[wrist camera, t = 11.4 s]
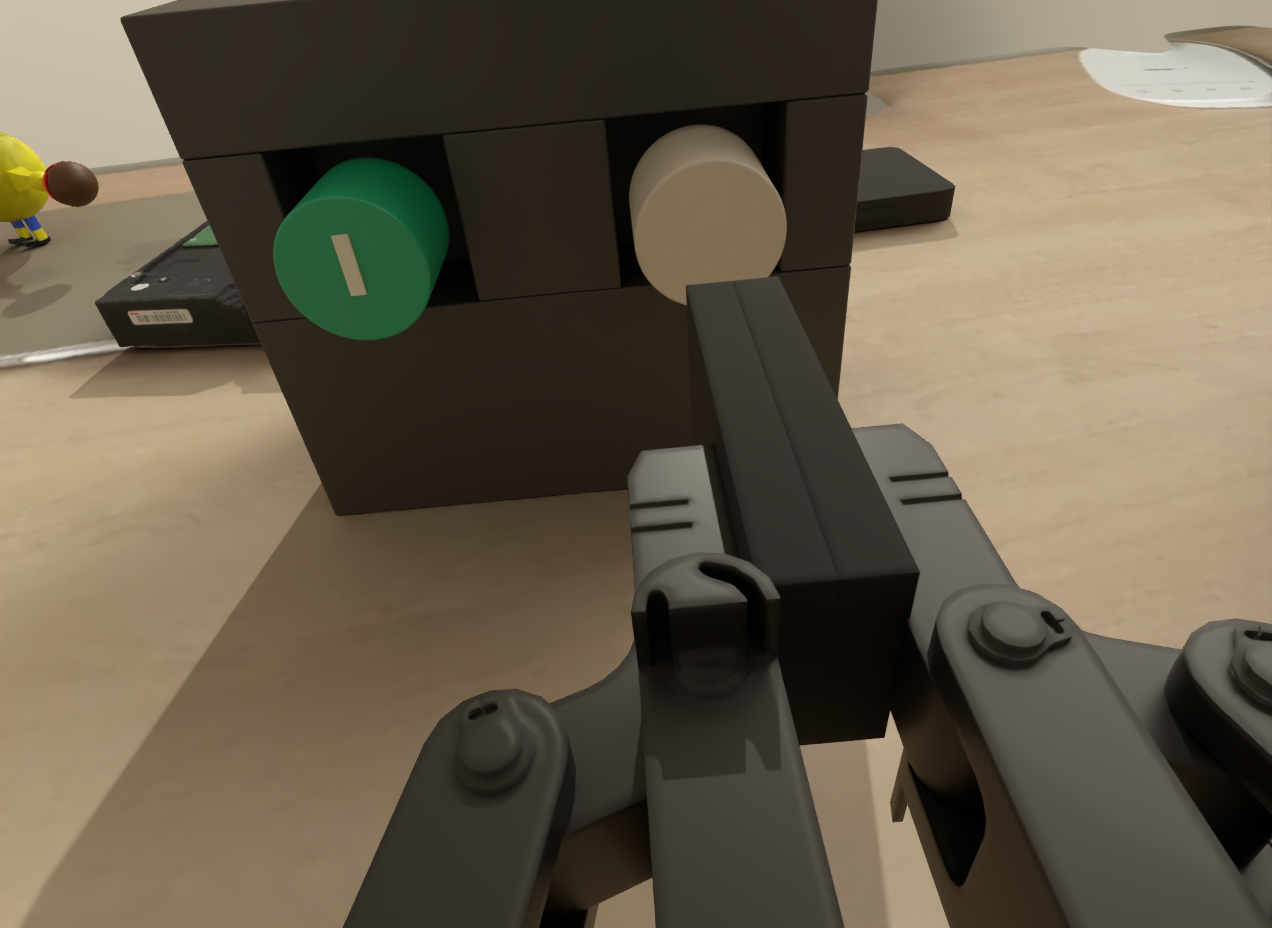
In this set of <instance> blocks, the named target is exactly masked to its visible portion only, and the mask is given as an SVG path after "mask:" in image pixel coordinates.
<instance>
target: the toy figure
mask: <svg viewBox="0 0 1272 928" xmlns="http://www.w3.org/2000/svg"><path fill="white" fill-rule="evenodd" d="M98 189H99V187H98V182H97V179H96V177H95V176H94V174H93V173H92V172H91V171H90V170H89V169H88V168H87V167H85V166H83V165H81V164H78V163H76V162H70V161H68V162H64V161H62V162H58V163H56V164H53V165H51V166H50V167H49V168H47V169H46V168H45V166H44V164H43V163H42V161H41V160H40V158H39V157H38V156H37V155H36V154H35V153H34V152H33V151H32V150H31V149H30V148H29V147H28V146H27V145H25V144H24V143H23V142H21V141H19V140H17V139H16V138H14V137H12V136H9V135H7V134H4V133H1V132H0V222H11V223H12V225H13V227H14V228H15V230H16V232H17V233H18V235H19V237H17V238H12V239H8V241H9V243H10V244H23V246H26V247H31V246H37V245H42V244H45V243H47V242H49V241H51V239H50V237H48V236H47V235H46V233H45V231H44V230H43V228H42V227H41V225H40V224H39V222H38V221H37V219H36V218H35V216H34V214H36V213H37V212H38V211H39V210H40V209H41V208H43V206H44V204H45V203H46V201H47V199H48V196H49V195H50V196H51V197H52V198H53V199H55V200H56V201H58V202H60V203H63V204H66V205H70V206H72V207H74V206H76V207H81V206H85V205H87V204H89V203H91V202H92V201H93V200H94V199H95V198H96V196H97V194H98ZM21 220H24V221H25V223H26V224H27V226H28V227H29V229H30V230H31V232H32V233H33V235H34V236H35V238H36V239H37V240H34V239H33V237H32V236H31V234H30V233H29V232H28V231H27V229H26V227H25V226H24V224H23V222H22V221H21Z"/></svg>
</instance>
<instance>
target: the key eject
mask: <svg viewBox="0 0 1272 928" xmlns="http://www.w3.org/2000/svg"><path fill="white" fill-rule="evenodd" d="M629 204H630V213H631V221H632V229H633V237H634V245H635V252H636V256H637V260H638V263H639V265H640V267H641V270H642V272H643V273H644V275H645V277H646V278H647V280H648V281H649V282H650V283H651V284H652V285H653V287H655V288H656V289H657V290H658V291H659V292H660V293H662V294H663V295H665V296H666V297H667V298H669V299H671V300H673V301H675V302H678V303H681V304H684V305H687V303H686V285H694V284H704V283H714V282H724V281H735V280H745V279H755V278H766V277H768V276H769V275H770V274H771V272H772V271H773V269H774V268H775V266H776V264H777V263H778V261H779V259H780V256H781V254H782V251H783V248H784V244H785V240H786V231H787V225H786V215H785V209H784V206H783V203H782V200H781V198H780V196H779V194H778V192H777V190H776V189H775V187H774V185H773V184H772V182H771V180H770V179H769V177H768V175H767V174H766V172H765V170H764V169H763V167H762V165H761V164H760V162H759V160H758V159H757V157H756V155H755V154H754V152H753V151H752V149H751V148H750V147H749V146H748V145H747V144H746V142H745V141H743V140H742V139H741V138H740V137H738V136H737V135H735V134H734V133H732V132H730V131H728V130H726V129H723V128H720V127H717V126H712V125H691V126H685V127H682V128H679V129H676V130H674V131H671V132H669V133H667V134H666V135H664V136H663V137H661V138H659V139H658V140H657V141H656V142H655V143H653V144H652V145H651V146H650V147H649V149H648V150H647V151H646V152H645V153H644V155H643V156H642V157H641V159H640V161H639V162H638V164H637V166H636V168H635V171H634V173H633V176H632V180H631V184H630V191H629Z"/></svg>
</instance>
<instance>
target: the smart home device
mask: <svg viewBox="0 0 1272 928" xmlns="http://www.w3.org/2000/svg"><path fill="white" fill-rule="evenodd" d="M954 190H955V185H953V183H951V182H950V181H948V180H947V179H945V178H944V177H942V176H941V175H939V174H938V173H936V172H935V171H933V170H932V169H930V168H928V167H927V166H925V165H924V164H922V163H921V162H919V161H918V160H916V159H915V158H913V157H912V156H910V155H909V154H907V153H906V152H904V151H903V150H901V149H899V148H893V147H886V148H876V149H868V150H862V158H861V168H860V178H859V188H858V198H857V208H856V218H855V228H854V232H855V231H862V230H870V229H877V228H885V227H892V226H900V225H907V224H915V223H922V222H930V221H936V220H941V219H945V218H948V217H949V216H950V213H951V207H952V201H953V196H954Z"/></svg>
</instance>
